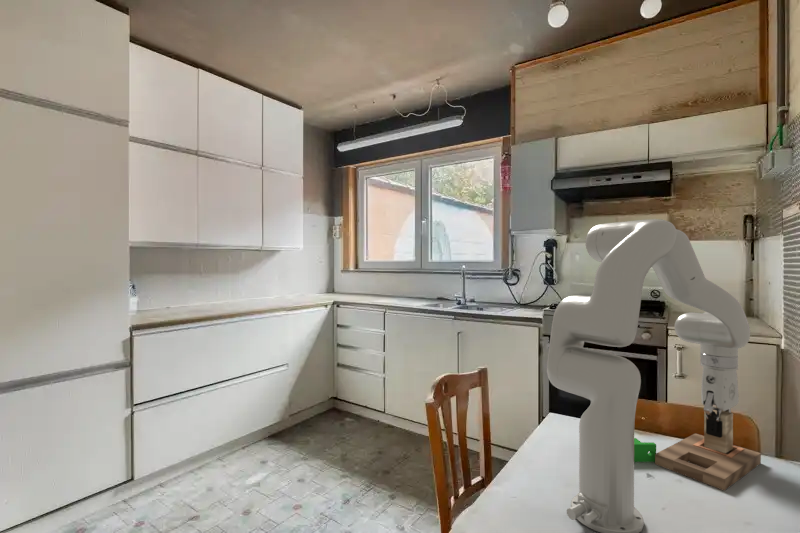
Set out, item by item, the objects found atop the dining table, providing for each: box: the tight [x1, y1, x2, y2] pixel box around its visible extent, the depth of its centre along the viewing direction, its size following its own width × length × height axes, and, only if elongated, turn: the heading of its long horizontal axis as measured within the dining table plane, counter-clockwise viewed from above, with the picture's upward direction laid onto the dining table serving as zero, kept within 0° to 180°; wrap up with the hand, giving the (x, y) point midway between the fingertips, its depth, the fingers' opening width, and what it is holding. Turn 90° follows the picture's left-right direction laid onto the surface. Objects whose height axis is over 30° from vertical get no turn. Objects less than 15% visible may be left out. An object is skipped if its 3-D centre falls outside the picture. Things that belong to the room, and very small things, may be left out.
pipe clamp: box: [634, 437, 657, 463], centre depth 104 cm, size 11×4×5 cm, turn 89°
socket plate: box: [654, 433, 762, 491], centre depth 101 cm, size 22×14×3 cm, turn 123°
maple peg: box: [703, 409, 734, 453], centre depth 104 cm, size 4×4×9 cm
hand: (718, 432), depth 104 cm, fingers closed on maple peg, 4 cm apart
